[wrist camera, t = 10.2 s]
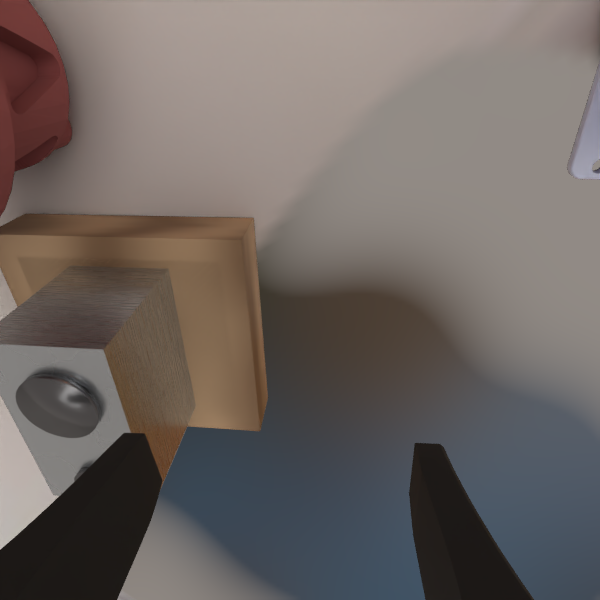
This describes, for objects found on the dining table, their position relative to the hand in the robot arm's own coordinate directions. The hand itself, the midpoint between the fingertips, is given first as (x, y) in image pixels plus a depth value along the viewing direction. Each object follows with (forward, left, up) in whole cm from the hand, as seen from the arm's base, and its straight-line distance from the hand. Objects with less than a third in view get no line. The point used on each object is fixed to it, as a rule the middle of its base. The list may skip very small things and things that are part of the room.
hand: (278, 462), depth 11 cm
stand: (+8, +2, -10) cm, 13 cm away
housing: (+8, +2, -8) cm, 11 cm away
